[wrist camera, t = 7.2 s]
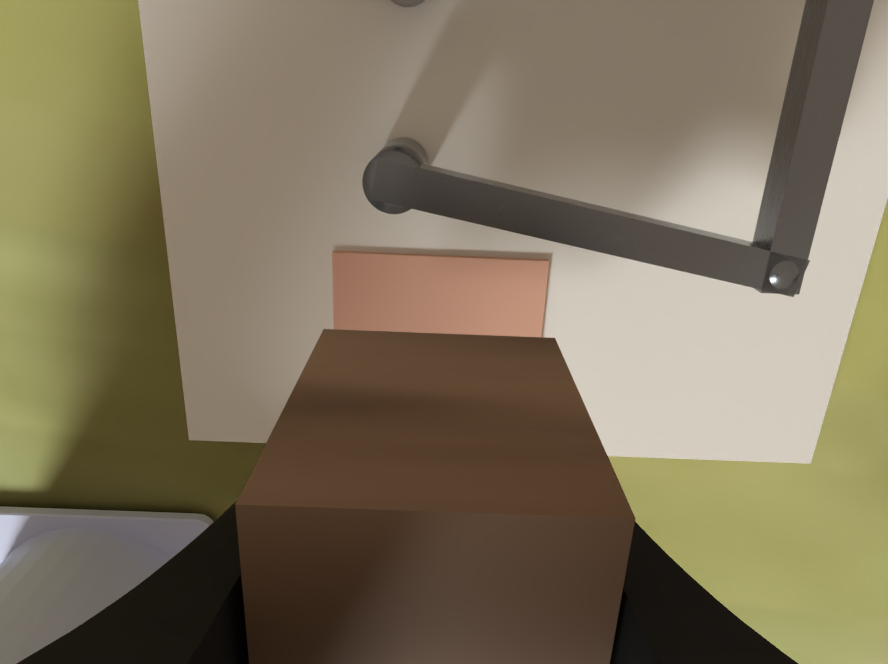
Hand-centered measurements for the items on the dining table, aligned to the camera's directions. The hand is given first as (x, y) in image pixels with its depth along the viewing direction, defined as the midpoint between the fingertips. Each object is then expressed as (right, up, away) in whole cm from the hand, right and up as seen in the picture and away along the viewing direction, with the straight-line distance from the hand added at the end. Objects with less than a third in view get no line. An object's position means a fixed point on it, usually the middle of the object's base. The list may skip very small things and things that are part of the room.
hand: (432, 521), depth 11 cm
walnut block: (0, +1, +1) cm, 2 cm away
